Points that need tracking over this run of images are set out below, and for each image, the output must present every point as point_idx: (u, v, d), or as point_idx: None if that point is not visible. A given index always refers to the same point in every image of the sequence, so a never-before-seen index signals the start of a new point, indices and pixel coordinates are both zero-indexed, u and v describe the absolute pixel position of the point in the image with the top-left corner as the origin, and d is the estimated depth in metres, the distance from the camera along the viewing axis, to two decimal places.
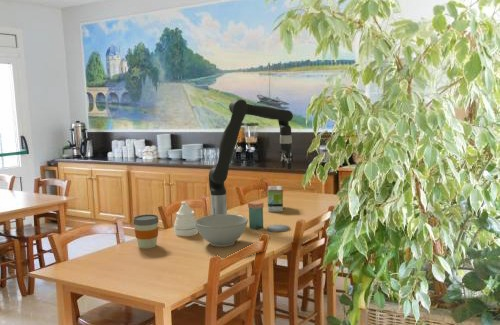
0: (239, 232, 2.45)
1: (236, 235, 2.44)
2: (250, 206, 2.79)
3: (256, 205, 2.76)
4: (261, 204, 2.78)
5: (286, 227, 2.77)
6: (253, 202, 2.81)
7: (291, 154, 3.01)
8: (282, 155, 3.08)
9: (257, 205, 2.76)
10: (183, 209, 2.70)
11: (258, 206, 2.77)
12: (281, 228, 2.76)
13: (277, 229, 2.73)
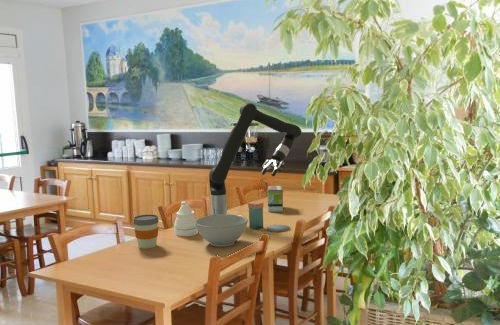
0: (239, 232, 2.45)
1: (236, 235, 2.44)
2: (250, 206, 2.79)
3: (256, 205, 2.76)
4: (261, 204, 2.78)
5: (286, 227, 2.77)
6: (253, 202, 2.81)
7: (283, 163, 2.87)
8: (270, 162, 2.91)
9: (257, 205, 2.76)
10: (183, 209, 2.70)
11: (258, 206, 2.77)
12: (281, 228, 2.76)
13: (277, 229, 2.73)
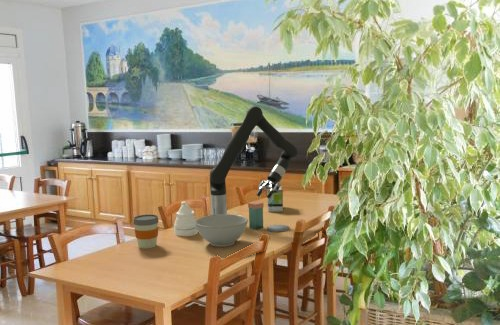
0: (239, 232, 2.45)
1: (236, 235, 2.44)
2: (250, 206, 2.79)
3: (256, 205, 2.76)
4: (261, 204, 2.78)
5: (286, 227, 2.77)
6: (253, 202, 2.81)
7: (279, 185, 2.82)
8: (266, 183, 2.86)
9: (257, 205, 2.76)
10: (183, 209, 2.70)
11: (258, 206, 2.77)
12: (281, 228, 2.76)
13: (277, 229, 2.73)
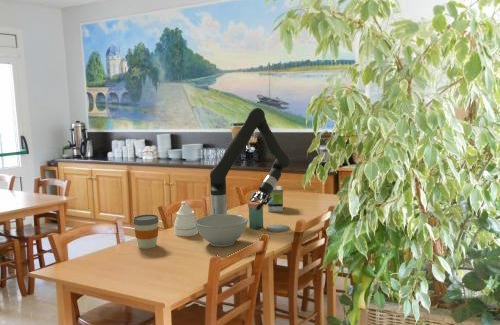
0: (239, 232, 2.45)
1: (236, 235, 2.44)
2: (250, 206, 2.79)
3: (256, 205, 2.76)
4: None
5: (286, 227, 2.77)
6: (253, 202, 2.81)
7: (270, 197, 2.77)
8: (258, 194, 2.82)
9: (257, 205, 2.76)
10: (183, 209, 2.70)
11: None
12: (281, 228, 2.76)
13: (277, 229, 2.73)
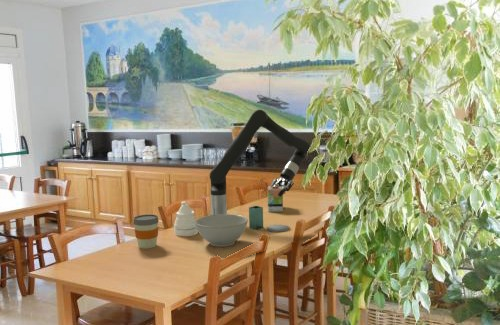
0: (239, 232, 2.45)
1: (236, 235, 2.44)
2: (272, 193, 2.74)
3: (278, 191, 2.71)
4: None
5: (286, 227, 2.77)
6: (274, 189, 2.76)
7: (292, 183, 2.73)
8: (279, 180, 2.77)
9: (279, 191, 2.72)
10: (183, 209, 2.70)
11: None
12: (281, 228, 2.76)
13: (277, 229, 2.73)
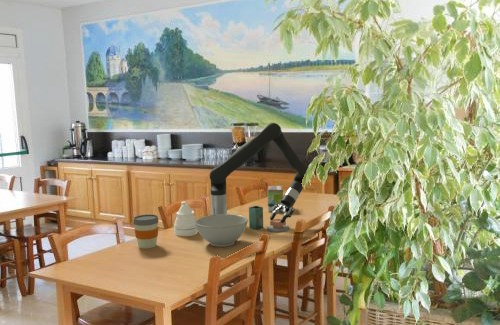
0: (239, 232, 2.45)
1: (236, 235, 2.44)
2: (272, 224, 2.76)
3: (279, 223, 2.74)
4: None
5: (286, 227, 2.77)
6: (275, 220, 2.79)
7: (293, 209, 2.75)
8: (280, 207, 2.79)
9: (280, 223, 2.74)
10: (183, 209, 2.70)
11: (280, 224, 2.75)
12: (281, 228, 2.76)
13: (277, 229, 2.73)
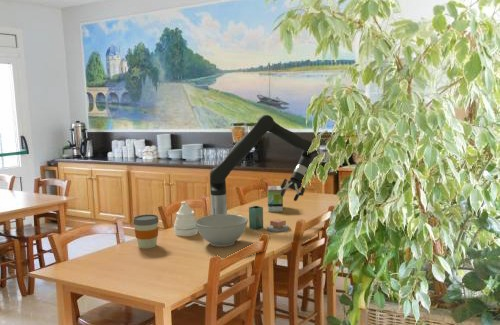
0: (239, 232, 2.45)
1: (236, 235, 2.44)
2: (272, 224, 2.76)
3: (279, 223, 2.74)
4: (283, 222, 2.76)
5: (286, 227, 2.77)
6: (275, 220, 2.79)
7: (305, 188, 2.86)
8: (291, 184, 2.88)
9: (280, 223, 2.74)
10: (183, 209, 2.70)
11: (280, 224, 2.75)
12: (281, 228, 2.76)
13: (277, 229, 2.73)
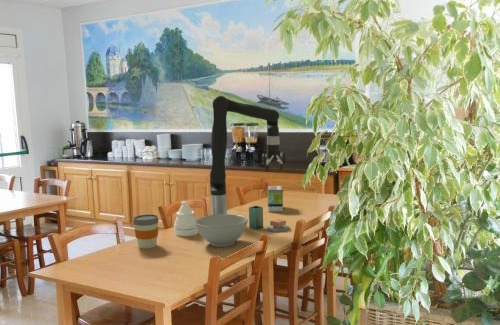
0: (239, 232, 2.45)
1: (236, 235, 2.44)
2: (272, 224, 2.76)
3: (279, 223, 2.74)
4: (283, 222, 2.76)
5: (286, 227, 2.77)
6: (275, 220, 2.79)
7: None
8: (272, 157, 2.92)
9: (280, 223, 2.74)
10: (183, 209, 2.70)
11: (280, 224, 2.75)
12: (281, 228, 2.76)
13: (277, 229, 2.73)
